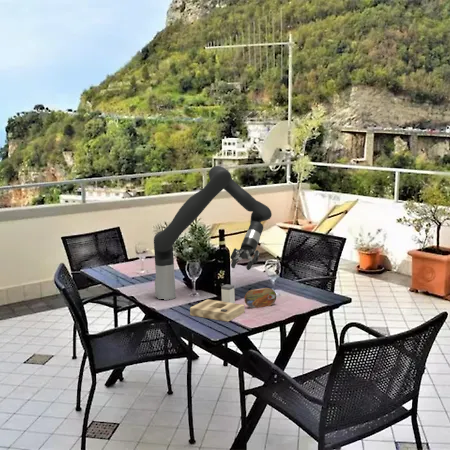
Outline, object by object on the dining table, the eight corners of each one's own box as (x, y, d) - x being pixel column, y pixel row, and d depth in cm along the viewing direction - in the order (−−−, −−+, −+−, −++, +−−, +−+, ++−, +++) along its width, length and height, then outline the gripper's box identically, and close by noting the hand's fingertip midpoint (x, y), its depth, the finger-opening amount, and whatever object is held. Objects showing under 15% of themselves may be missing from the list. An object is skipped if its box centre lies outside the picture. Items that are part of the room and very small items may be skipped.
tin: (246, 309, 257) (245, 291, 255) (243, 307, 260) (243, 289, 258) (276, 305, 261) (276, 287, 260) (274, 303, 264) (273, 286, 262)
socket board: (190, 315, 251) (189, 306, 251) (207, 306, 263) (207, 298, 262) (228, 321, 241) (227, 312, 240) (244, 312, 252) (244, 303, 252)
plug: (222, 305, 264) (221, 286, 263) (227, 302, 268) (226, 284, 267) (229, 306, 262) (229, 287, 261) (234, 303, 266) (234, 285, 264)
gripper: (235, 235, 281) (224, 262, 273) (260, 237, 273) (249, 265, 266) (241, 244, 286) (230, 271, 279) (266, 246, 279) (255, 273, 271)
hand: (240, 268), depth 272 cm, fingers open, 8 cm apart
